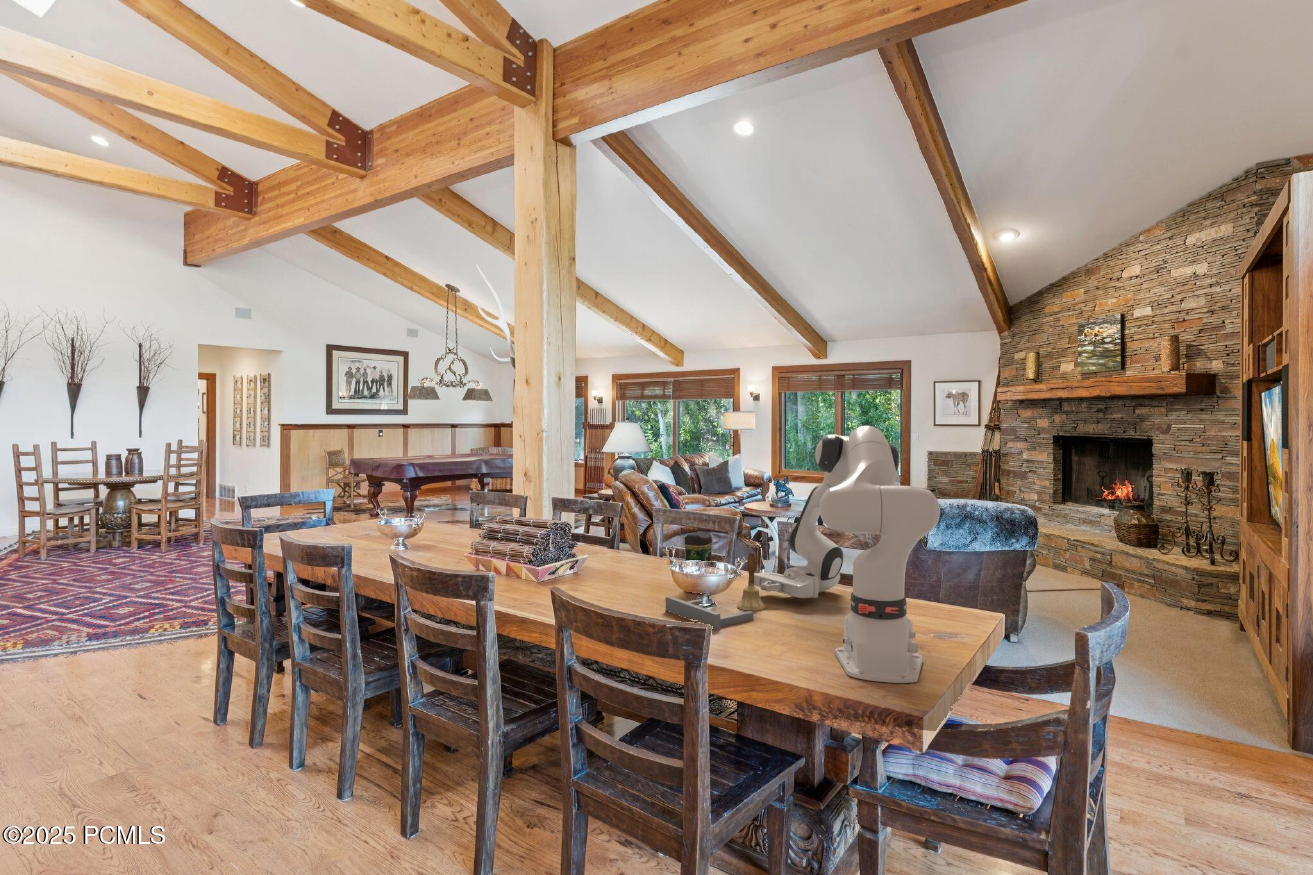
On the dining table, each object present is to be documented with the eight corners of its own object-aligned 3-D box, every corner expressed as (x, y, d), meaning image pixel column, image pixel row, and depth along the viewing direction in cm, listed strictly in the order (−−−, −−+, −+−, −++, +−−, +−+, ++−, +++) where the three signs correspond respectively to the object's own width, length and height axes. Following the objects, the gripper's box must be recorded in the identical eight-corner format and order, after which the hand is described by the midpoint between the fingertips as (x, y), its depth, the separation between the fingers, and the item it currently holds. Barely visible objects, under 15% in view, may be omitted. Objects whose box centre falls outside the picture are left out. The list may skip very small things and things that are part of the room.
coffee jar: (693, 584, 220) (693, 529, 220) (715, 587, 216) (715, 530, 216) (680, 591, 211) (680, 533, 211) (703, 594, 208) (703, 534, 207)
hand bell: (757, 602, 198) (757, 549, 197) (770, 609, 190) (770, 554, 189) (731, 604, 195) (731, 550, 195) (744, 612, 187) (744, 556, 187)
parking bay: (705, 603, 197) (705, 589, 197) (757, 620, 179) (757, 605, 179) (665, 610, 188) (665, 596, 188) (715, 630, 170) (715, 614, 170)
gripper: (772, 565, 211) (739, 571, 204) (822, 577, 195) (788, 583, 187) (772, 585, 211) (740, 591, 204) (822, 598, 195) (788, 606, 187)
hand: (763, 587), depth 195 cm, fingers closed
